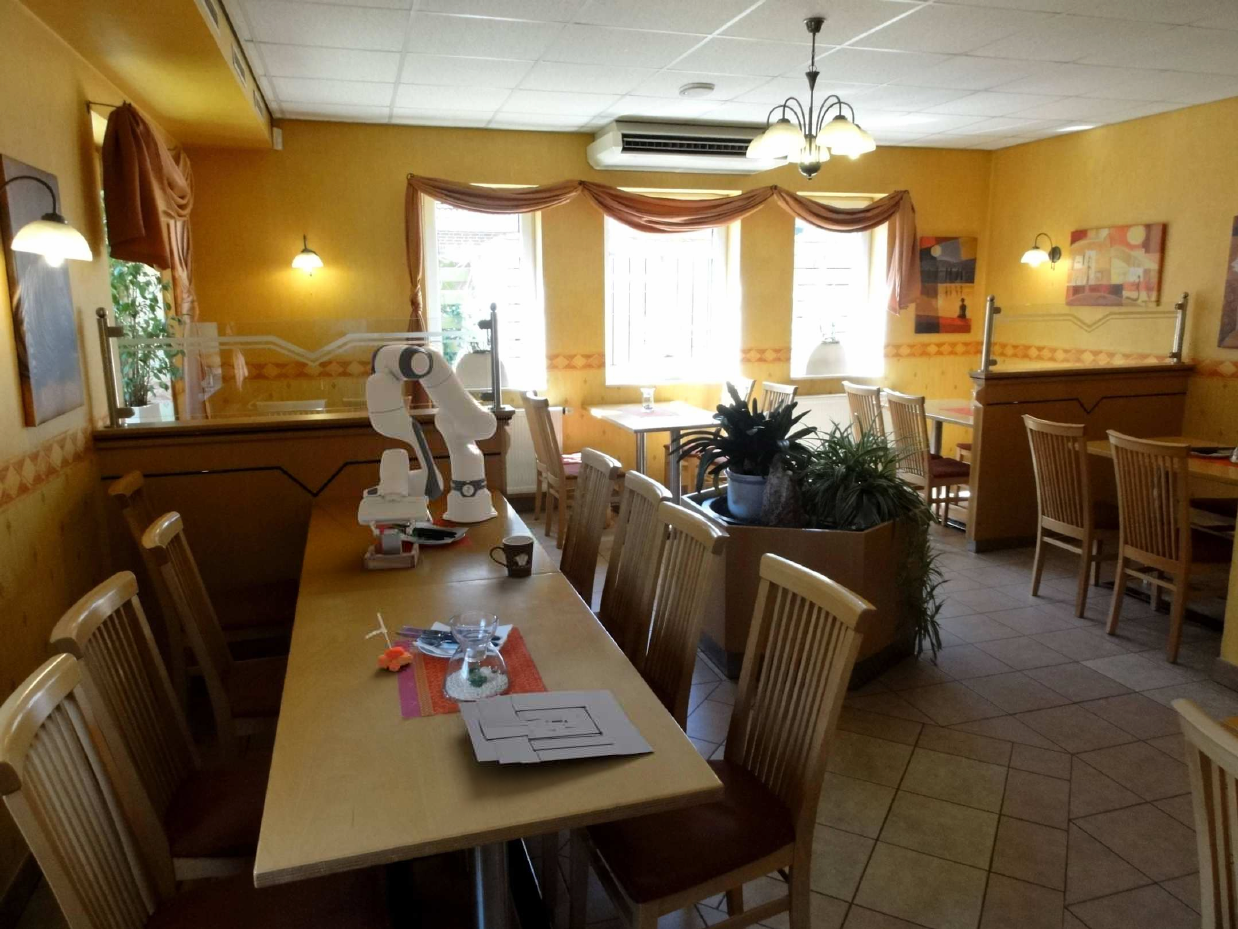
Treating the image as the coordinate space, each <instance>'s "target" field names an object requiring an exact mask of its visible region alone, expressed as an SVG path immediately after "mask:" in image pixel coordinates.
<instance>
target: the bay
mask: <svg viewBox="0 0 1238 929" xmlns="http://www.w3.org/2000/svg"><path fill="white" fill-rule="evenodd" d="M419 547H420V546H419V542H413V546H412V549H411V551H410V552H402V555H387V556H383V553H382V554H381V553H379V554H378V553H377V554H376V549H375V548H376V546H375V545H373V544H372V545H371V544H370V545H369V547H368V549H367V551H366V554H365V555H364V558H363V562H364V570H365V571H368V570H382V569H383V570H384V569H402V568H415V567H416V566H417V562H418V559H419V555H420V550H419V549H420V548H419Z"/></svg>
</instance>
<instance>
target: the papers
mask: <svg viewBox="0 0 1238 929" xmlns="http://www.w3.org/2000/svg"><path fill="white" fill-rule="evenodd" d="M474 700H475V701H470V702H469V701H468V702H458V703H457V704H458V708H459V710H460V712H461V715H462V718H463V721H464V722H465V725H466V727H467V730H468V733H469V737H470V740H471V743H472V745H473V746H472V747H473V750H474V752H475V756H476V759H477V761H478V762H487V761H499V764H508V763H509V764H510V763H511V764H512V763H521V764H525V763H526V764H527V763H540V762H545V761H554V760H567V759H568V760H569V759H577V758H589V757H590V758H591V757H601V756H609V755H617V756H618V755H631V754H632V755H633V754H640V753H649V752H655V749H653V747H652V746H651V745H650V743H649V742H648V741H647V740H646V739H645V738H644V736H643V735H642V734H641V733H640V731H639V730H638V729H637V727H636V726H635V724H633V723H632V722H631V721H630V719H629V718H628V716H627V715H626V714H625V712H624V710H623V709H622V706H620V704H619V703H618V701H617V699H616V698H615V696H614V695H613V693H612V692H611V690H610V689H603V690H602V689H601V690H599V689H596V690H594V689H590V690H589V689H587V690H584V689H583V690H578V689H575V690H574V689H573V690H559V691H557V690H556V691H545V692H543V691H541V692H525V693H523V692H522V693H509V694H508V695H493V696H492V697H482V698H474Z"/></svg>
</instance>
